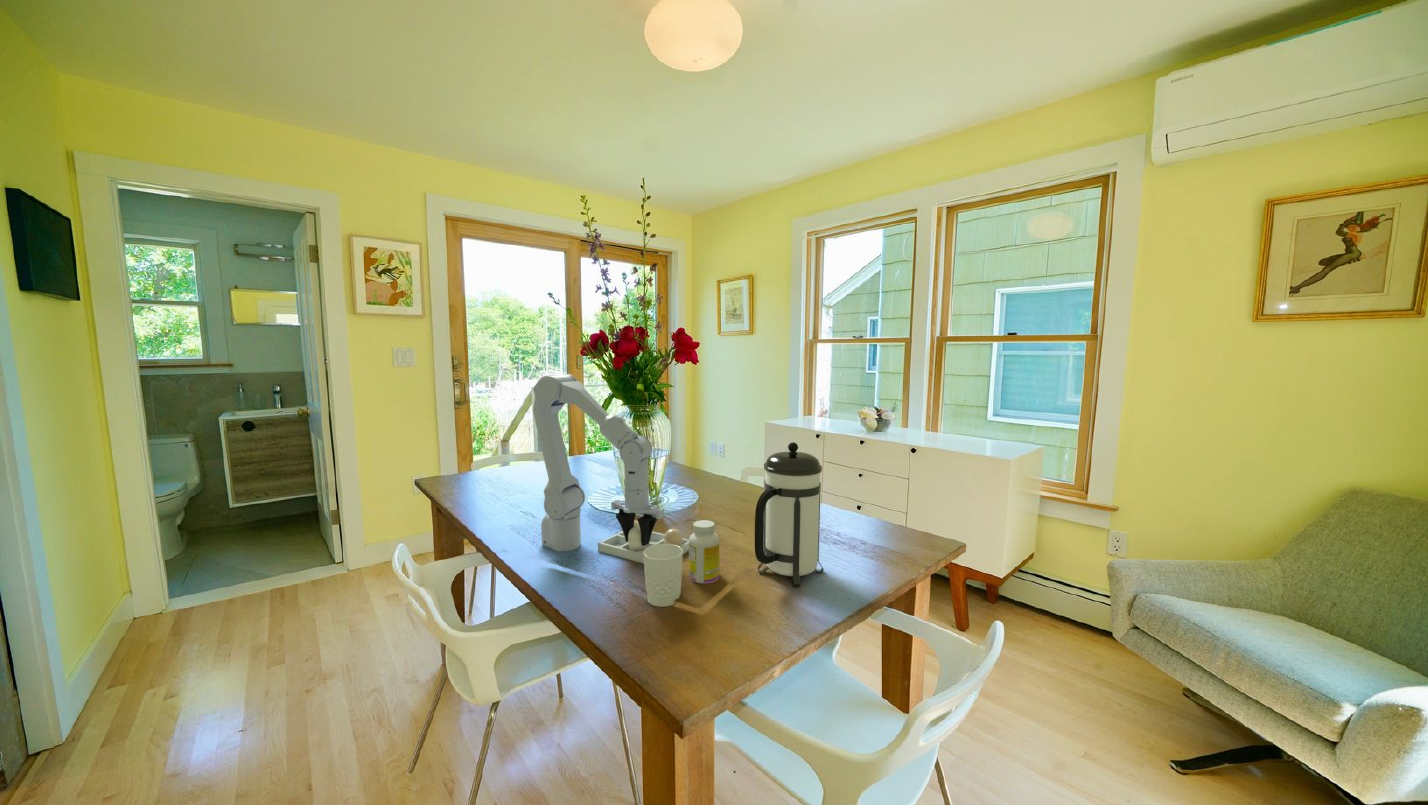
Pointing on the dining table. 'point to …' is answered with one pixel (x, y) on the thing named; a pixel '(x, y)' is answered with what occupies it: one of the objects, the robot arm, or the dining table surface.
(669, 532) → the brown egg back right
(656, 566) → the white cup
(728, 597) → the dining table surface
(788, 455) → the coffee press
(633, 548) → the cream egg
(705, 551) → the supplement bottle
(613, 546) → the egg carton
